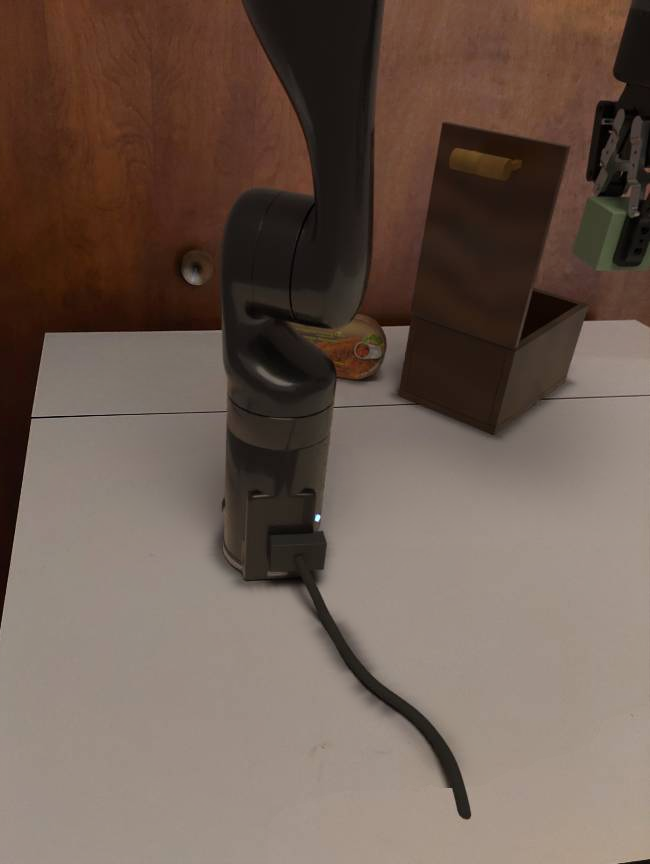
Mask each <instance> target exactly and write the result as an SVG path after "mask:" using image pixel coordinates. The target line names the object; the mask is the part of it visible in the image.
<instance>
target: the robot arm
mask: <svg viewBox="0 0 650 864" xmlns="http://www.w3.org/2000/svg"><path fill="white" fill-rule="evenodd" d="M240 2H241V4H242V6H243V10H244V12H245V15H246V17H247V19H248V22H249V24H250V26H251V29H252V30H253V33H254V35H255V37H256V38H257V41H258V43H259V45H260V47H261V48H262V49H261V50H263V53H264V54H265V56H266V59H267V60H268V62H269V64H270V66H271V68H272V69H273V72H274V73H275V75H276V77H277V79H278V81H279V83H280V85H281V87H282V89H283V90H284V92H285V94H286V96H287V98H288V100H289V102H290V105H291V106H292V109H293V111H294V113H295V116H296V118H297V120H298V123H299V126H300V128H301V131H302V134H303V137H304V141H305V143H306V148H307V152H308V158H309V161H310V163H309V164H310V169H311V170H310V171H311V176H312V178H311V179H312V187H313V194H309V193H308V194H307V193H303V192H295V191H289V190H283V189H277V188H271V187H263V186H262V187H261V186H259V187H251V188H248V189H246V190H245V191H243V192H242V193H240V194H239V196H237V198H236V199H235V201H234V202H233V203H232V205H231V207H230V209H229V211H228V213H227V217H226V219H225V223H224V227H223V229H222V230H223V231H222V236H221V241H220V251H219V267H218V268H219V269H218V270H219V296H220V297H219V298H220V300H219V301H220V316H221V317H220V318H221V319H220V320H221V322H220V323H221V350H222V352H221V353H222V354H221V356H222V365H223V370H224V372H225V375H226V376H225V377H226V422H225V423H226V424H225V425H226V426H225V427H226V428H225V472H224V473H225V474H224V497H223V499H222V501H221V512H223V513H224V519H223V521H224V523H223V526H224V528H223V536H222V550H223V554H224V557H225V558H226V560H227V562H228V563H229V564H230V565H232V566H233V567H234V568H236V569H237V570H238V571H240V572H242V575H243V579H244V580H246V581H249V580H250V581H253V580H269V579H270V580H277V579H278V580H279V579H293V578H296V579H297V578H301V580H302V581H303V584H304V586H305V588H306V590H307V593H308V595H309V597H310V598H311V601H312V603H313V605H314V608H315V610H316V612H317V614H318V616H319V618H320V620H321V622H322V623H323V625H324V627H325V629H326V631H327V632H328V635H329V636H330V638H331V639H332V641H333V644H334V645H335V647H336V648H337V650H338V652H339V653H340V655H341V657H342V659H344V661H345V662H346V664H347V665H348V666H349V667H350V669H351V670H352V671H353V672H354V674H355V675H356V676H357V677H358V678H359V679H360V680H361V681H362V682H363V683H364V684H365V685H366V686H367V687H368V688H369V689H370V690H372V692H374V693H375V694H376V695H377V696H379V697H380V698H382V699H383V700H384V701H385V702H387V703H388V704H390V705H391V706H392V707H394V708H395V709H397V710H399V711H400V712H401V713H402V714H404V715H405V716H406V717H407V718H408V719H410V720H411V721H412V722H413V723H414V724H415V725H416V726H417V727H418V728H419V729H420V731H422V733H423V734H424V735H425V737H426V738H427V739H428V740H429V742H430V743H431V744H432V746H433V748H434V749H435V750H436V753H437V754H438V756H439V757H440V759H441V762H442V763H443V765H444V768H445V771H446V774H447V777H448V780H449V783H450V786H451V790H452V795H453V797H454V798H453V799H454V802H455V806H456V811H457V814H458V817H460V818H461V819H462V820H466V821H468V820H470V819H471V818H472V811H471V805H470V801H469V800H470V799H469V796H468V793H467V792H468V791H467V789H466V786H465V782H464V777H463V776H462V772H461V769H460V766H459V765H458V764H459V763H458V762H457V760H456V758H455V755H454V753H453V751H452V750H451V748H450V746H449V745H448V743H447V742H446V741H445V739H444V738H443V736H442V735H441V734H440V732H439V731H438V730H437V728H436V727H435V726H434V725H433V724H432V723H431V721H430V720H429V719H428V718H427V717H425V715H424V714H423V713H422V712H420V711H419V710H418V709H417V708H415V707H414V706H413V705H412V704H410V703H409V702H408V701H406V700H405V699H403V698H402V697H401V696H399V694H397V693H395V692H394V691H392V690H391V689H390V688H388V687H386V686H385V685H384V684H383V683H382V682H380V681H379V680H378V679H377V678H376V677H374V676H373V674H371V672H369V670H368V669H367V668H366V667H365V665H363V663H361V661H360V659H358V657H357V656H356V654H355V653H354V652H353V650H352V649H351V648H350V646H349V645H348V643H347V641H346V640H345V638H344V636H343V634H342V632H341V631H340V629H339V627H338V625H337V623H336V621H335V620H334V618H333V616H332V615H331V613H330V611H329V609H328V607H327V605H326V603H325V600H324V598H323V596H322V594H321V591H320V589H319V587H318V585H317V583H316V581H315V579H314V577H313V574H312V573H311V571H323V570H325V561H326V554H327V547H328V543H327V539H326V535H325V532H324V530H321V523H322V513H323V503H324V495H325V486H326V477H327V468H328V460H329V451H330V443H331V441H330V440H331V433H332V426H333V416H334V410H335V409H334V407H335V399H336V392H337V391H336V390H337V384H338V383H337V382H338V377H337V371H336V366H335V364H334V362H333V360H332V359H331V357H330V356H329V355H328V354H327V353H326V352H324V351H323V350H322V349H321V348H319V347H318V346H316V345H315V344H314V343H312V342H311V341H309V340H308V339H307V338H305V337H304V336H303V335H302V334H300V333H299V332H298V331H297V330H296V329H295V328H294V327H293V325H292V324H291V323H290V322H292V323H297V324H301V325H305V326H311V327H316V328H322V329H339V328H342V327H345V326H347V325H348V324H349V323H350V322H351V321H352V320H353V319H354V318H355V316H356V315H357V314H359V311H360V310H361V307H362V305H363V302H364V300H365V297H366V293H367V289H368V285H369V280H370V276H371V275H370V274H371V269H372V260H373V249H374V226H375V225H374V223H375V161H376V160H375V157H376V155H375V153H376V151H375V150H376V139H375V138H376V111H377V110H376V109H377V93H378V74H379V65H380V55H381V47H382V46H381V44H382V35H383V23H384V15H385V13H384V12H385V4H386V0H240ZM612 76H613V77H614V79H615V80H617V81H618V82H621V83H624V84H625V86H624V88H623V90H622V92H621V94H620V95H619V97H618V100H606V99H605V100H604V99H603V100H599V101H598V102H597V104H596V107H595V113H594V117H593V118H594V119H593V125H592V131H591V140H590V146H589V153H588V160H587V166H586V173H585V180H586V181H587V182H589V183H590V182H593V184H594V185H593V188H592V193H593V195H594V197H626V196H627V194H628V192H629V190H630V189H631V190H630V195H629V197H630V202H629V208H628V215H629V216H626V218H625V221H624V224H623V227H622V230H621V234H620V237H619V240H618V243H617V246H616V249H615V252H614V256H613V259H612V260H613V263H614V264H616V265H617V266H619V267H636V266H639V265H640V264H641V263H642V261H643V258H644V256H645V254H646V251H647V248H648V245H649V242H650V191H649V193H648V194H647V197H646V192H647V186H648V185H650V171H647V170H646V169H650V0H631V2H630V6H629V10H628V13H627V16H626V20H625V24H624V28H623V30H622V35H621V38H620V41H619V45H618V49H617V52H616V56H615V60H614V64H613V68H612Z"/></svg>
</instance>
